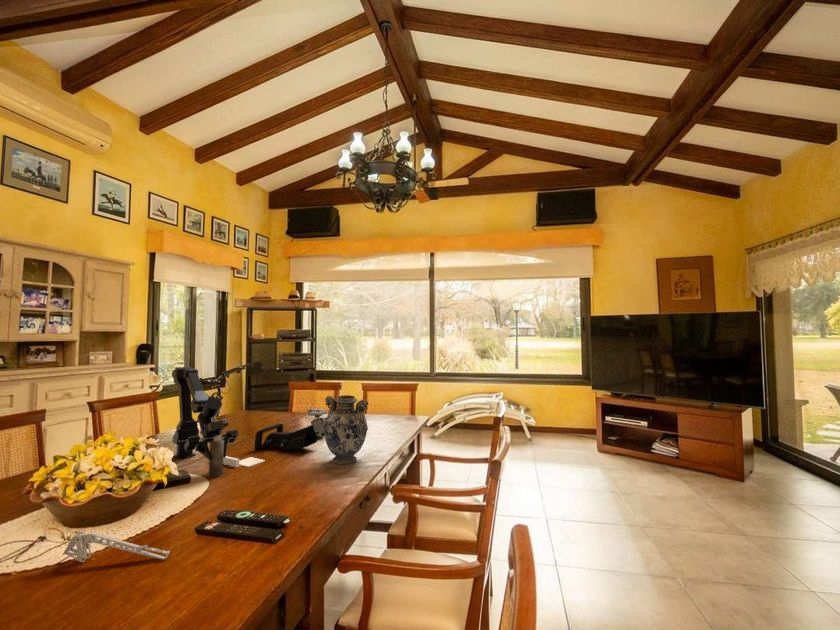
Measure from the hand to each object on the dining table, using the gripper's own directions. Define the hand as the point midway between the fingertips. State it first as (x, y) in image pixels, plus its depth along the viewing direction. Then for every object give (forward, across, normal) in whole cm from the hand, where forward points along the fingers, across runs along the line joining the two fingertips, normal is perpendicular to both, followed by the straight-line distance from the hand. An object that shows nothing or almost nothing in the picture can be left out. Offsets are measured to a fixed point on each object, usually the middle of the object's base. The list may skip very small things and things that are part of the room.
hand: (217, 458), depth 156 cm
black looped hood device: (-5, +38, +15) cm, 41 cm away
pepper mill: (+4, 0, +6) cm, 7 cm away
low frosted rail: (-4, +8, +13) cm, 16 cm away
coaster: (0, +16, +10) cm, 19 cm away
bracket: (+34, -40, -24) cm, 58 cm away
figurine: (-12, +60, +22) cm, 65 cm away
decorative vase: (+18, +46, -8) cm, 50 cm away
